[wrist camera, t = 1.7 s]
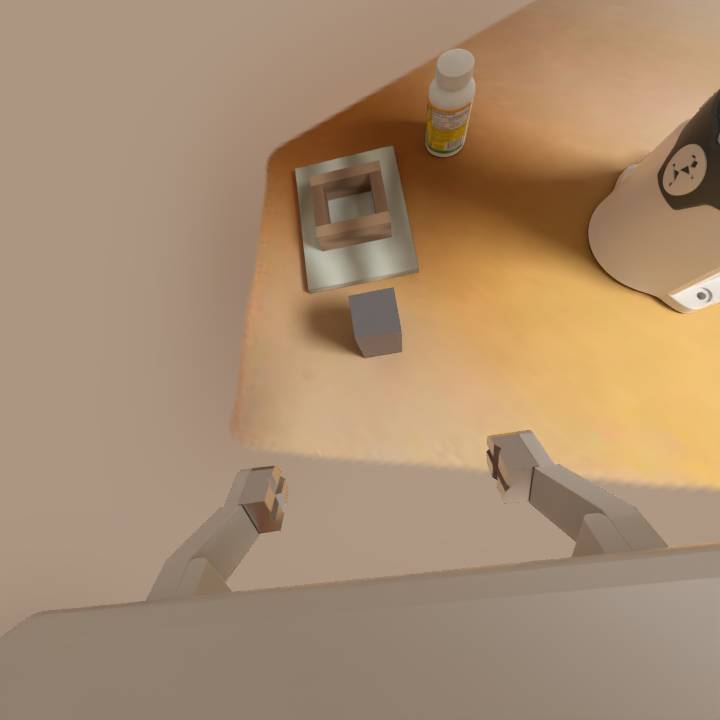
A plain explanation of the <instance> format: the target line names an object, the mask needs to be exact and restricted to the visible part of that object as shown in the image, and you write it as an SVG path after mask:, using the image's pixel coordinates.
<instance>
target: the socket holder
mask: <svg viewBox="0 0 720 720" xmlns="http://www.w3.org/2000/svg"><path fill="white" fill-rule="evenodd" d="M295 172H296V181H297V191H298V200H299V209H300V218H301V227H302V237H303V246H304V255H305V264H306V273H307V283H308V290H309V292H310V293H316V292H321V291H326V290H331V289H336V288H341V287H346V286H352V285H357V284H362V283H367V282H372V281H377V280H382V279H387V278H392V277H397V276H402V275H408V274H413V273H418V272H419V267H418V262H417V257H416V252H415V247H414V243H413V238H412V233H411V228H410V223H409V219H408V214H407V209H406V204H405V199H404V195H403V190H402V185H401V180H400V175H399V171H398V166H397V161H396V156H395V151H394V147H393V145H392V146H388V147H383V148H379V149H375V150H371V151H367V152H363V153H358V154H354V155H350V156H346V157H342V158H338V159H333V160H329V161H325V162H321V163H317V164H312V165H308V166H304V167H300V168H296V169H295Z"/></svg>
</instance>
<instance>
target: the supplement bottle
mask: <svg viewBox="0 0 720 720" xmlns="http://www.w3.org/2000/svg"><path fill="white" fill-rule="evenodd" d="M473 69H474V57H473V55H472V54H471V53H470V52H469V51H467V50H464V49H451V50H448V51H446V52H445V53H443V54H442V55H441V56H440V57H439V59H438V61H437V65H436V73H435V78H434V80H433V81H432V83H431V85H430V87H429V91H428V104H427V119H426V134H425V144H426V147H427V150H428V151H429V152H430V153H431V154H432V155H434V156H437V157H449V156H452V155H454V154H456V153H457V152H459V151H460V150H461V148H462V147H463V145H464V142H465V138H466V133H467V128H468V123H469V118H470V113H471V109H472V104H473V99H474V94H475V82H474V79H473V78H472V75H473Z"/></svg>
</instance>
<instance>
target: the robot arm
mask: <svg viewBox="0 0 720 720" xmlns="http://www.w3.org/2000/svg"><path fill="white" fill-rule="evenodd" d="M588 237H589V243H590V247H591V250H592V252H593V254H594V256H595V258H596V260H597V261H598V262H599V264H600V265H601V266H602V268H603V269H604V270H605V271H606V272H607V273H609V274H610V275H611V276H612V277H613V278H615V279H616V280H618V281H619V282H621V283H623V284H624V285H626V286H628V287H631V288H633V289H636V290H638V291H642V292H645V293H648V294H651V295H653V296H656V297H658V298H659V299H661V300H662V301H663V302H665V303H666V304H667V305H669V306H670V307H672V308H673V309H675V310H677V311H679V312H681V313H692V312H695V311H698V310H700V309H703V308H706V307H709V306H712V305H714V304H717V303H720V89H719V90H718V91H717V92H715V93H714V94H713V96H712V97H710V98H709V99H708V100H707V101H706V102H705V103H704V104H703V105H702V106H701V107H700V108H699V111H698V112H697V114H696V115H695V116H694V117H693V118H692V119H688V120H686V121H684V122H683V123H682V124H680V125H679V126H678V127H677V128H676V129H675V130H674V131H673V132H672V133H671V134H670V135H669V136H668V137H666V138H665V139H664V140H663V141H662V142H661V143H660V144H659V145H658V146H657V147H656V148H655V149H654V150H653V151H652V152H651V153H650V154H649V155H648V156H647V157H646V158H645V159H644V160H643V161H642V162H641V163H640V164H634V165H631V166H629V167H627V168H626V169H625V170H624V171H623V172H622V173H621V174H620V176H619V178H618V180H617V182H616V185H615V188H614V190H613V191H612V193H611V194H610V195H609V196H607V197H606V198H605V199H604V200H603V201H602V202H601V203H600V204H599V205H598V207H597V208H596V209H595V211H594V213H593V215H592V217H591V220H590V223H589V229H588ZM697 296H698V297H699V298H700V299H699V298H698V297H697ZM487 445H488V447H489V450H488V451H487V463H488V467H489V470H490V473H491V475H492V477H493V478H494V479H496V480H497V488H498V491H499V493H500V495H501V497H502V500H503V502H504V504H508V503H520V502H529V503H530V504H531V505H532V506H534V507H535V508H536V509H537V510H538V511H540V512H541V513H542V514H543V515H544V516H545V517H547V518H548V519H549V520H550V521H551V522H553V523H554V524H555V525H556V526H557V527H559V528H560V529H561V530H562V531H563V532H565V533H566V534H567V535H568V536H569V537H571V538H572V539H573V540H574V541H575V542H576V545H575V548H574V551H573V554H572V557H570V558H560V559H550V560H540V561H532V562H531V561H530V562H521V563H511V564H501V565H492V566H481V567H472V568H462V569H453V570H442V571H432V572H423V573H413V574H403V575H394V576H384V577H374V578H365V579H355V580H345V581H335V582H326V583H316V584H306V585H296V586H287V587H277V588H267V589H257V590H248V591H238V592H234V591H233V590H232V589H231V587H229V585H228V584H227V583H226V581H227V580H228V578H229V577H230V575H231V574H232V573H233V571H234V570H235V568H236V567H237V566H238V564H239V563H240V562H241V560H242V559H243V557H244V556H245V555H246V553H247V552H248V550H249V549H250V548H251V546H252V545H253V543H254V542H255V540H256V539H257V538H258V536H259V534H261V533H267V532H274V531H280V530H281V526H282V522H283V517H284V512H283V511H282V508H283V507H284V505H285V504H286V503H287V498H288V487H287V483H286V480H285V479H284V478H283V477H281V476H280V474H281V470H280V468H279V466H268V467H261V468H252V469H243V470H240V471H239V472H238V473H237V476H236V478H235V481H234V483H233V485H232V488H231V490H230V493H229V495H228V498H227V500H226V503H225V505H224V507H222V508H219V509H218V510H217V511H216V512H215V513H214V514H213V515H212V516H211V517H210V518H209V519H208V520H207V521H206V522H205V523H204V524H203V525H202V526H201V527H200V528H199V529H198V530H197V531H196V532H195V533H194V534H193V535H192V536H191V537H190V538H189V539H187V540H186V541H185V542H184V543H183V544H182V545H181V546H180V547H179V548H178V549H177V550H176V551H175V552H174V553H173V554H172V555H171V556H170V557H169V558H168V559H167V560H166V561H165V563H164V565H163V567H162V569H161V572H160V573H159V575H158V578H157V580H156V581H155V584H154V585H153V587H152V589H151V592H150V594H149V596H148V597H147V600H146V601H139V602H129V603H119V604H109V605H100V606H91V607H80V608H70V609H60V610H49V611H42V612H38V613H36V614H33V615H31V616H30V617H28V618H26V619H25V620H23V621H22V622H21V623H19V624H18V625H17V626H15V627H14V628H12V629H11V630H10V631H8V632H7V633H6V634H5V635H3V636H2V637H1V638H0V720H720V542H716V543H707V544H696V545H687V546H677V547H668V546H667V544H666V543H665V542H664V541H663V540H662V538H661V537H660V536H659V535H658V534H657V532H656V531H655V530H654V529H653V528H652V526H651V525H650V524H649V523H648V522H647V520H646V519H645V518H644V517H643V516H642V514H641V513H640V512H639V511H638V510H637V509H636V508H635V507H634V506H632V505H630V504H629V503H627V502H625V501H623V500H621V499H619V498H618V497H616V496H614V495H613V494H611V493H609V492H607V491H606V490H604V489H602V488H600V487H599V486H597V485H595V484H593V483H592V482H590V481H588V480H586V479H585V478H583V477H581V476H579V475H578V474H576V473H574V472H572V471H571V470H569V469H567V468H565V467H564V466H562V465H560V464H557V465H555V464H554V462H553V461H552V459H551V458H550V456H549V455H548V454H547V452H546V451H545V449H544V448H543V446H542V445H541V443H540V442H539V441H538V439H537V438H536V436H535V435H534V433H533V432H532V431H530V430H526V431H519V432H512V433H505V434H498V435H492V436H488V437H487Z"/></svg>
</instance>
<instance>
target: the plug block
mask: <svg viewBox="0 0 720 720" xmlns="http://www.w3.org/2000/svg"><path fill="white" fill-rule="evenodd" d="M349 303H350V310H351V317H352V324H353V331H354V338H355V341H356V342H357V344H358V346H359V348H360V350H361V352H362V354H363V356H364V357H365V358H369V357H375V356H381V355H386V354H392V353H398V352H402V334H401V326H400V320H399V315H398V309H397V304H396V298H395V293H394V287H393V288H388V289H382V290H377V291H372V292H367V293H362V294H357V295H351V296H349Z"/></svg>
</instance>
